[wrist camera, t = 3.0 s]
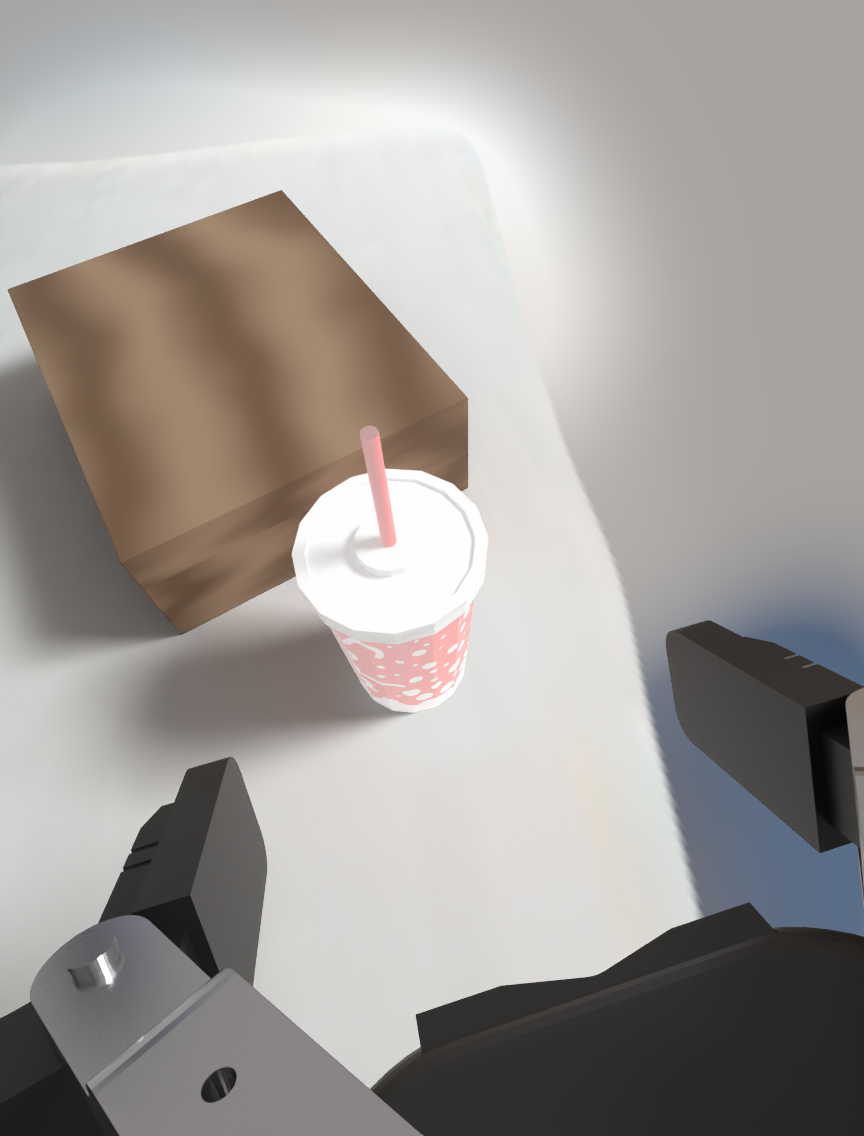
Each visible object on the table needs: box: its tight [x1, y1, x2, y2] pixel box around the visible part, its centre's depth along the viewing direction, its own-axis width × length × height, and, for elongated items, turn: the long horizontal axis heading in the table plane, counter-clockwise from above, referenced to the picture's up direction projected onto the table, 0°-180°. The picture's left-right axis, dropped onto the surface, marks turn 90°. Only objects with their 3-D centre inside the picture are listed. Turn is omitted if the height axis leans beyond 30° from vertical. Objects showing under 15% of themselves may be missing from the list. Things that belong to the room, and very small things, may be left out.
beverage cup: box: [292, 426, 488, 713], centre depth 22 cm, size 6×6×14 cm
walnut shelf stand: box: [8, 190, 468, 634], centre depth 33 cm, size 15×19×6 cm
